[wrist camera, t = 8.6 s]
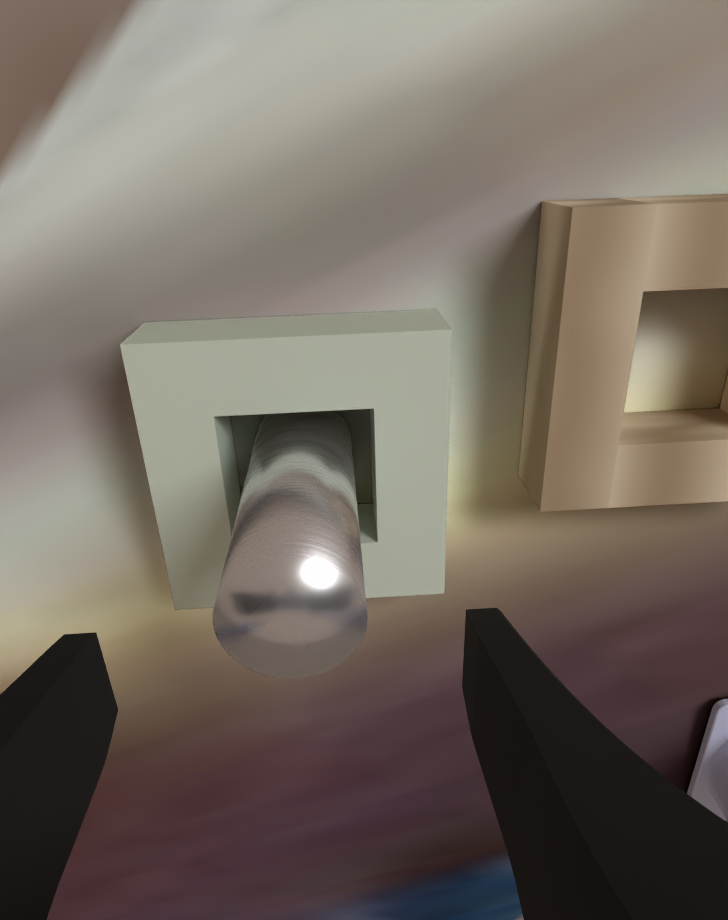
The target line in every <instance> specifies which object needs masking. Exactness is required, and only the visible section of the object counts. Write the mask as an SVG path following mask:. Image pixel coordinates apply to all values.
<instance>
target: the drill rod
mask: <svg viewBox="0 0 728 920" xmlns="http://www.w3.org/2000/svg"><path fill="white" fill-rule="evenodd" d="M213 625H214V630H215V633H216V636H217V638H218V640H219V642H220V644H221V645H222V647H223V648H224V649H225V651H226V652H227V653H228V654H229V655H230V656H231V657H232V658H233V659H234V660H236V661H237V662H238V663H240V664H241V665H243V666H245V667H246V668H248V669H250V670H253V671H255V672H257V673H260V674H263V675H267V676H272V677H278V678H303V677H309V676H314V675H317V674H321V673H323V672H326V671H328V670H330V669H332V668H334V667H336V666H338V665H339V664H341V663H342V662H344V661H345V660H346V659H347V658H348V657H350V656H351V655H352V654H353V652H354V651H355V650H356V649H357V647H358V646H359V644H360V643H361V641H362V639H363V637H364V634H365V631H366V627H367V606H366V595H365V585H364V574H363V563H362V552H361V541H360V530H359V519H358V509H357V498H356V487H355V476H354V465H353V454H352V443H351V435H350V431H349V428H348V426H347V424H346V422H345V420H344V419H343V417H342V416H341V415H340V414H339V413H338V412H337V411H336V410H334V411H314V412H294V413H275V414H266V415H265V417H264V418H263V420H262V421H261V423H260V425H259V428H258V431H257V435H256V439H255V443H254V447H253V451H252V455H251V459H250V463H249V467H248V471H247V475H246V479H245V483H244V488H243V492H242V496H241V500H240V504H239V508H238V512H237V516H236V520H235V524H234V528H233V532H232V536H231V540H230V544H229V548H228V552H227V556H226V560H225V564H224V568H223V572H222V577H221V581H220V585H219V589H218V593H217V597H216V601H215V605H214V610H213Z"/></svg>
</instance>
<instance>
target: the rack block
mask: <svg viewBox="0 0 728 920" xmlns="http://www.w3.org/2000/svg"><path fill="white" fill-rule="evenodd" d="M120 348H121V352H122V357H123V362H124V367H125V372H126V376H127V381H128V386H129V391H130V395H131V400H132V405H133V410H134V415H135V419H136V424H137V429H138V434H139V439H140V443H141V448H142V453H143V458H144V462H145V467H146V472H147V477H148V482H149V486H150V491H151V496H152V501H153V506H154V510H155V515H156V520H157V525H158V529H159V534H160V539H161V544H162V549H163V553H164V558H165V563H166V568H167V573H168V577H169V582H170V587H171V592H172V597H173V601H174V606H175V610H180V609H196V608H213V607H214V605H215V601H216V597H217V593H218V589H219V585H220V581H221V577H222V572H223V568H224V564H225V560H226V556H227V552H228V548H229V544H230V540H231V536H232V532H233V528H234V524H235V520H236V516H237V512H238V508H239V504H240V500H241V493H240V485H239V478H238V471H237V463H236V456H235V449H234V441H233V434H232V427H231V419H230V416H235V415H255V414H275V413H294V412H314V411H334V410H354V409H370V438H371V471H372V503H371V504H357V509H358V519H359V530H360V541H361V552H362V563H363V574H364V585H365V595H366V598H376V597H392V596H409V595H425V594H441V593H444V583H445V550H446V517H447V484H448V452H449V419H450V386H451V353H452V328H451V327H450V326H449V324H448V323H447V322H446V320H445V319H444V318H443V316H442V315H441V313H440V312H439V311H438V309H435V310H412V311H390V312H368V313H345V314H323V315H301V316H279V317H256V318H234V319H212V320H189V321H167V322H145V323H143V324H142V325H141V326H140V327H139V328H138V329H137V330H136V331H134V332H133V333H132V334H131V335H130V336H129V337H128V338H127V339H126V340H125V341H123V342H122V343H121V344H120Z"/></svg>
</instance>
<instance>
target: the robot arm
mask: <svg viewBox="0 0 728 920" xmlns="http://www.w3.org/2000/svg"><path fill="white" fill-rule="evenodd" d="M462 688H463V694H464V699H465V704H466V710H467V715H468V720H469V725H470V730H471V735H472V739H473V742H474V745H475V749H476V752H477V755H478V758H479V762H480V765H481V768H482V771H483V775H484V778H485V781H486V784H487V787H488V791H489V794H490V797H491V800H492V803H493V807H494V810H495V813H496V816H497V819H498V823H499V826H500V829H501V832H502V835H503V838H504V842H505V845H506V848H507V851H508V855H509V859H510V862H511V866H512V870H513V873H514V877H515V881H516V886H517V890H518V895H519V899H520V904H521V908H522V913H523V918H524V920H728V823H727V822H726V821H728V699H722V700H719V701H717V702H716V703H715V704H714V706H713V707H712V710H711V714H710V717H709V721H708V724H707V727H706V731H705V734H704V737H703V741H702V744H701V748H700V751H699V754H698V758H697V761H696V765H695V768H694V771H693V775H692V778H691V781H690V785H689V788H688V792H687V793H685V792H684V791H683V790H681V789H680V788H678V787H677V786H676V785H674V784H673V783H672V782H670V781H669V780H668V779H666V778H665V777H664V776H663V775H661V774H660V773H659V772H658V771H656V770H655V769H654V768H653V767H651V766H650V765H649V764H648V763H646V762H645V761H644V760H643V759H642V758H640V757H639V756H638V755H637V754H636V753H635V752H633V751H632V750H631V749H630V748H629V747H627V746H626V745H625V744H624V743H623V742H622V741H621V740H620V739H618V738H617V737H616V736H615V735H614V734H613V733H612V732H611V731H610V730H609V729H607V728H606V727H605V726H604V725H603V724H602V723H601V722H600V721H599V720H598V719H597V718H596V717H595V716H594V715H593V714H592V713H591V712H590V711H589V710H588V709H587V708H586V707H585V706H584V705H583V704H582V703H581V702H580V701H579V700H578V699H577V698H576V697H575V696H574V695H573V694H572V693H571V692H570V691H569V690H568V689H567V688H566V687H565V686H564V685H563V684H562V682H561V681H560V680H559V679H558V678H557V677H556V676H555V675H554V674H553V673H552V672H551V671H550V669H549V668H548V667H547V666H546V665H545V664H544V663H543V662H542V661H541V659H540V658H539V657H538V656H537V655H536V654H535V652H534V651H533V650H532V649H531V648H530V647H529V645H528V644H527V643H526V642H525V641H524V639H523V638H522V637H521V636H520V635H519V633H518V632H517V631H516V630H515V628H514V627H513V626H512V625H511V623H510V622H509V621H508V620H507V618H506V617H505V616H504V614H503V613H502V612H501V611H500V610H499V609H498V608H486V609H470V610H466V621H465V641H464V661H463V681H462ZM117 712H118V708H117V704H116V701H115V697H114V694H113V690H112V687H111V683H110V680H109V676H108V673H107V669H106V666H105V662H104V659H103V655H102V652H101V648H100V645H99V641H98V638H97V634H96V633H81V634H65V635H63V636H62V637H61V638H60V639H59V640H58V641H57V642H55V643H54V644H53V645H52V646H51V647H50V648H49V649H48V650H47V651H46V652H45V653H44V654H43V655H42V656H41V657H39V658H38V659H37V660H36V661H35V662H34V663H33V664H32V665H31V666H30V667H29V668H28V669H27V670H26V671H25V672H24V673H23V674H22V675H21V676H20V677H19V678H18V679H16V680H15V681H14V682H13V683H12V684H11V685H10V686H9V687H8V688H7V689H6V690H5V691H4V692H3V693H2V694H1V695H0V920H47V916H48V913H49V910H50V907H51V904H52V901H53V898H54V896H55V893H56V890H57V887H58V884H59V881H60V879H61V876H62V874H63V871H64V869H65V866H66V863H67V861H68V858H69V856H70V853H71V850H72V848H73V845H74V843H75V840H76V837H77V835H78V832H79V830H80V827H81V824H82V822H83V819H84V817H85V814H86V812H87V809H88V806H89V804H90V801H91V798H92V796H93V793H94V791H95V788H96V785H97V783H98V780H99V777H100V775H101V772H102V769H103V766H104V764H105V760H106V757H107V753H108V749H109V745H110V741H111V737H112V733H113V729H114V725H115V720H116V716H117Z"/></svg>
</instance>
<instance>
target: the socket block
mask: <svg viewBox="0 0 728 920" xmlns="http://www.w3.org/2000/svg"><path fill="white" fill-rule="evenodd" d="M712 288H728V194H712V195H687V196H661V197H635V198H610V199H584V200H558V201H542V208H541V220H540V231H539V243H538V254H537V266H536V278H535V289H534V301H533V312H532V324H531V335H530V347H529V358H528V370H527V381H526V393H525V405H524V416H523V428H522V439H521V451H520V462H519V474H518V476H519V478H520V479H521V481H522V483H523V484H524V486H525V488H526V489H527V491H528V493H529V494H530V496H531V497H532V499H533V501H534V502H535V504H536V506H537V507H538V509H539V511H540V512H546V511H564V510H581V509H599V508H616V507H634V506H652V505H669V504H687V503H704V502H722V501H728V374H727V379H726V383H725V387H724V392H723V396H722V400H721V404H720V408H710V409H690V410H671V411H651V412H632V413H624V408H625V402H626V395H627V389H628V383H629V377H630V371H631V365H632V358H633V352H634V346H635V340H636V334H637V328H638V321H639V315H640V309H641V303H642V297H643V292H644V291H666V290H689V289H712Z"/></svg>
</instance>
